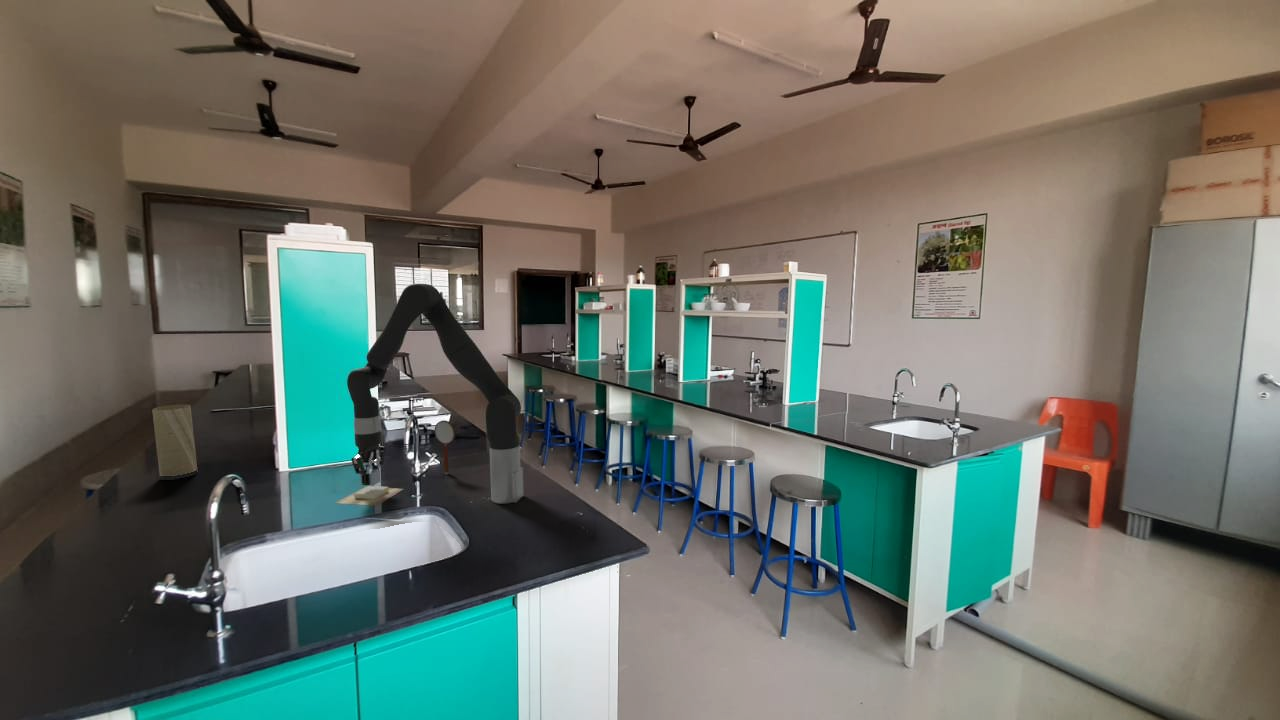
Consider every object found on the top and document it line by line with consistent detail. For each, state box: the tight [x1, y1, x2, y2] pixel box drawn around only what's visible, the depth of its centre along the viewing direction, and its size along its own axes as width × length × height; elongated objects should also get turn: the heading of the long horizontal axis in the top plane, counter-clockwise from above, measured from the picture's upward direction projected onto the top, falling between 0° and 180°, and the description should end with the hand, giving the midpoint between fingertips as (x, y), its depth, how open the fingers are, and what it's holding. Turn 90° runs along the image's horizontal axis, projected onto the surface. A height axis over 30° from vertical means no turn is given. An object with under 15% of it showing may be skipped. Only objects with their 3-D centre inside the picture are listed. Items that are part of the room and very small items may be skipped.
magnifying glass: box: [434, 419, 457, 475], centre depth 185 cm, size 9×2×20 cm, turn 71°
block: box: [359, 468, 382, 486], centre depth 165 cm, size 4×4×4 cm
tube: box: [151, 404, 198, 477], centre depth 183 cm, size 10×10×25 cm
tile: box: [353, 485, 390, 500], centre depth 166 cm, size 7×2×7 cm
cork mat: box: [335, 486, 404, 507], centre depth 165 cm, size 14×14×1 cm
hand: (371, 482), depth 165 cm, fingers closed on block, 4 cm apart
